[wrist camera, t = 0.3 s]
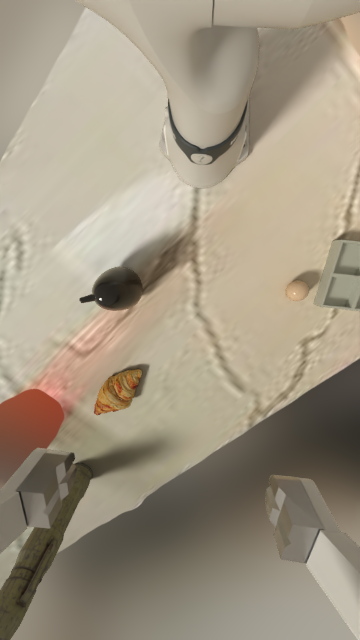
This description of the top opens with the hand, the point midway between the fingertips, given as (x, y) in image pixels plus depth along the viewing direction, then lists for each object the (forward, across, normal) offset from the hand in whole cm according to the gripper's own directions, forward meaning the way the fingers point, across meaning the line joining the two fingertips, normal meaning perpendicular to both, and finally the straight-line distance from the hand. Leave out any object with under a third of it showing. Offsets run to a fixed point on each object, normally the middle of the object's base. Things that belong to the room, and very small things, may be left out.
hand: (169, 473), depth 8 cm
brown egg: (+47, -25, -2) cm, 53 cm away
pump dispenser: (+47, +17, 0) cm, 50 cm away
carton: (+47, -39, -6) cm, 61 cm away
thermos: (+47, +35, +69) cm, 90 cm away
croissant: (+47, +19, +32) cm, 60 cm away
